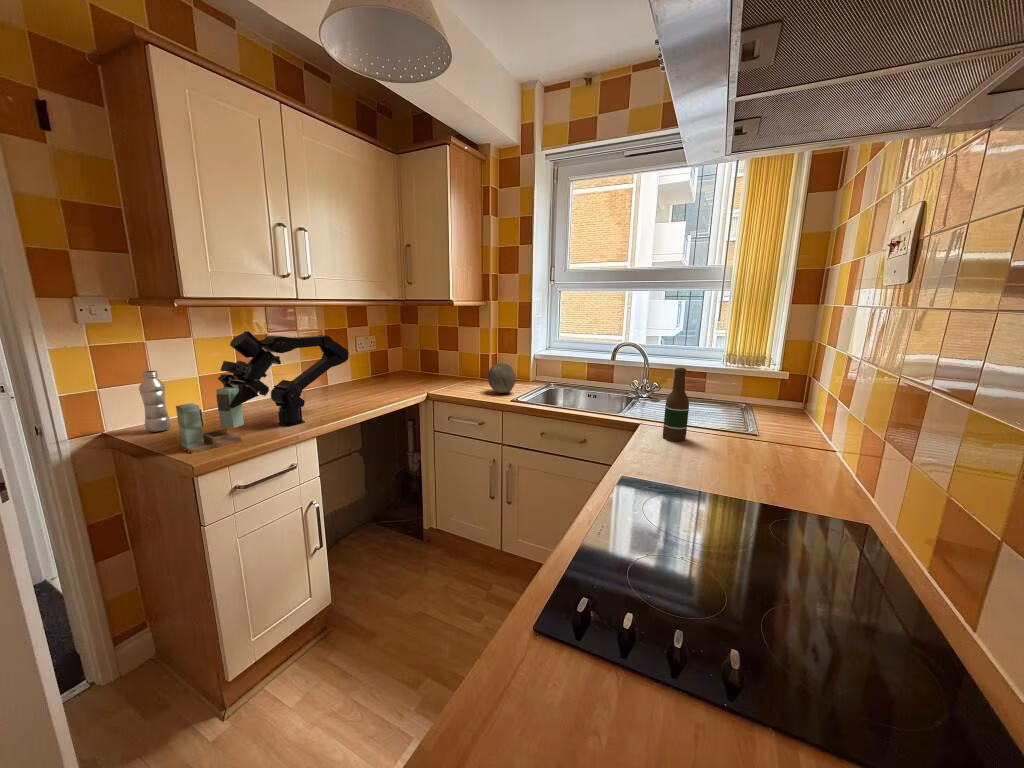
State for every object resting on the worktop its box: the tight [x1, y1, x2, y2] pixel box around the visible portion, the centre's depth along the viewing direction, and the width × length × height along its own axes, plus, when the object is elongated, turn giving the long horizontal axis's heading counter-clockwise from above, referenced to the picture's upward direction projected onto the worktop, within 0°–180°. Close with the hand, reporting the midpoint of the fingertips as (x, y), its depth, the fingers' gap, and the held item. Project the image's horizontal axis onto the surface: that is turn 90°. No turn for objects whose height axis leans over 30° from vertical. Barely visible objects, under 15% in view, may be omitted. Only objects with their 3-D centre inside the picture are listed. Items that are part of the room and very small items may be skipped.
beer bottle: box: [662, 367, 690, 443], centre depth 135 cm, size 8×8×24 cm
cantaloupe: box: [487, 363, 516, 394], centre depth 200 cm, size 14×14×15 cm
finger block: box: [215, 387, 245, 429], centre depth 127 cm, size 5×4×12 cm
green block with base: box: [175, 402, 242, 454], centre depth 123 cm, size 13×9×13 cm
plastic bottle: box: [138, 370, 171, 433], centre depth 133 cm, size 6×7×20 cm
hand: (225, 406), depth 126 cm, fingers closed on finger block, 5 cm apart
